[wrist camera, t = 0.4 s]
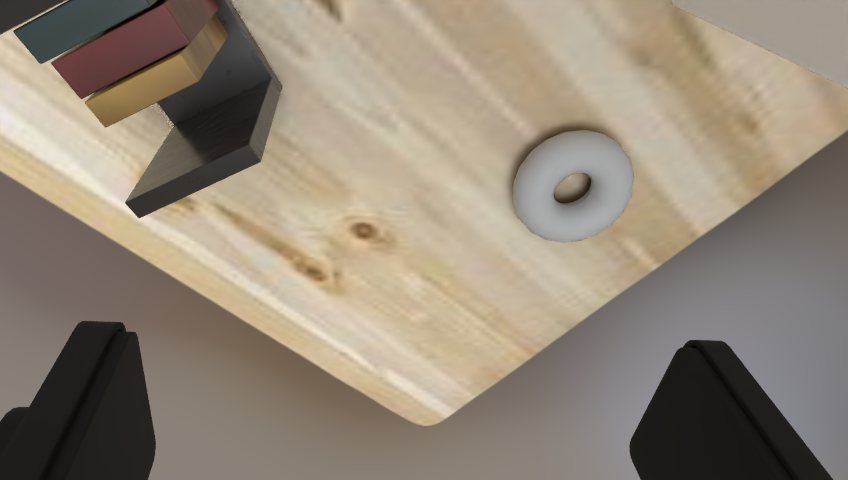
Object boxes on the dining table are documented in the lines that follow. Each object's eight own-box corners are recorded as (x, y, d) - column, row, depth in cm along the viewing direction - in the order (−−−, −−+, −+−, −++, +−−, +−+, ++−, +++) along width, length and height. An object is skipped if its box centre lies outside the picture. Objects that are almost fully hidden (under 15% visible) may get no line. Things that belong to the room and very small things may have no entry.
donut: (519, 119, 45) (499, 228, 50) (531, 137, 42) (508, 250, 48) (638, 125, 47) (606, 230, 52) (657, 142, 44) (621, 251, 49)
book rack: (69, -28, 36) (-39, 19, 26) (177, -87, 35) (108, -62, 25) (188, 132, 43) (138, 219, 33) (282, 86, 42) (261, 162, 32)
